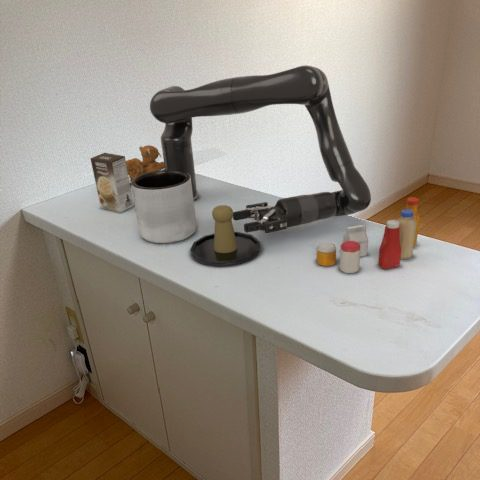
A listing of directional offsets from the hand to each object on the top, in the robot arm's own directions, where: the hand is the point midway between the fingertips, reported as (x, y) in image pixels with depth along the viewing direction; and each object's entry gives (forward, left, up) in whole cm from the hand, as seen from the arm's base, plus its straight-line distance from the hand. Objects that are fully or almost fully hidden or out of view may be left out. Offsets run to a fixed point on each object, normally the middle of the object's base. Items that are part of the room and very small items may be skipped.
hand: (238, 222), depth 130 cm
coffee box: (-52, +5, -7) cm, 53 cm away
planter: (-23, -2, -7) cm, 24 cm away
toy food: (+32, +11, -7) cm, 34 cm away
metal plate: (-2, -3, -7) cm, 8 cm away
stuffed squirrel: (-58, +25, -7) cm, 64 cm away
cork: (-2, -3, -6) cm, 7 cm away
